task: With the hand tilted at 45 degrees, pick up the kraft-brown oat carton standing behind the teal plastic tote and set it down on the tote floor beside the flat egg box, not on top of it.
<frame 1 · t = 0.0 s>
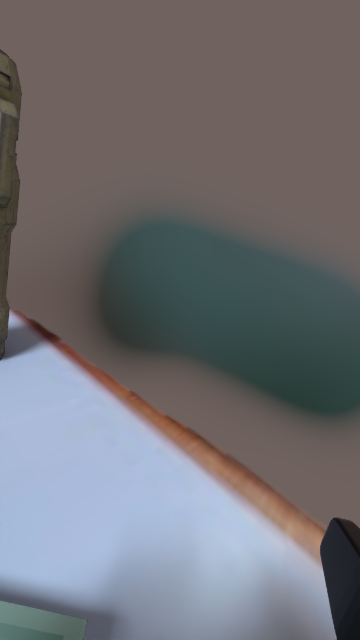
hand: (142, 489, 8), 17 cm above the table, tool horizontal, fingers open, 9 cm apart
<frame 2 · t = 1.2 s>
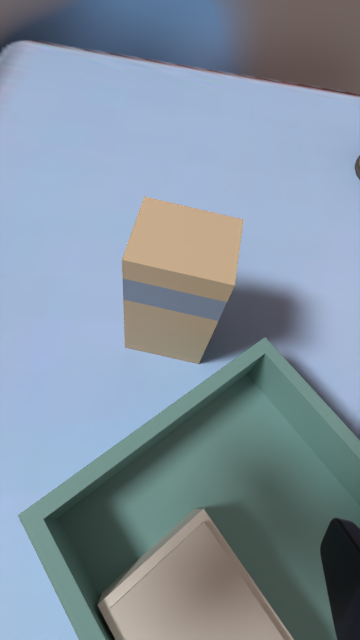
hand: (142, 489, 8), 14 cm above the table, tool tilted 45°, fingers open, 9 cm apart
oat carton: (168, 329, 26), on the table
egg box: (196, 622, 17), point 1 cm above the table, touching tote
tote: (248, 561, 19), on the table
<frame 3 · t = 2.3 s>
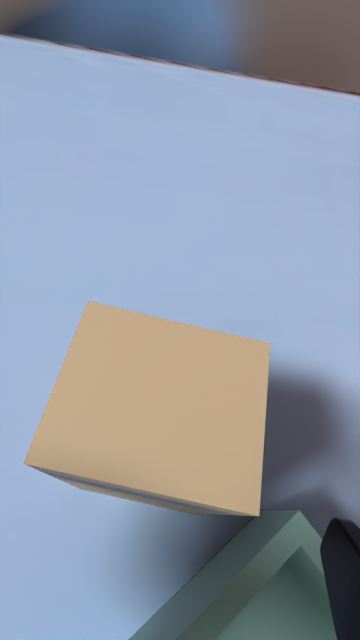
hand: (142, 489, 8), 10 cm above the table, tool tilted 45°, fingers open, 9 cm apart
oat carton: (147, 452, 18), on the table
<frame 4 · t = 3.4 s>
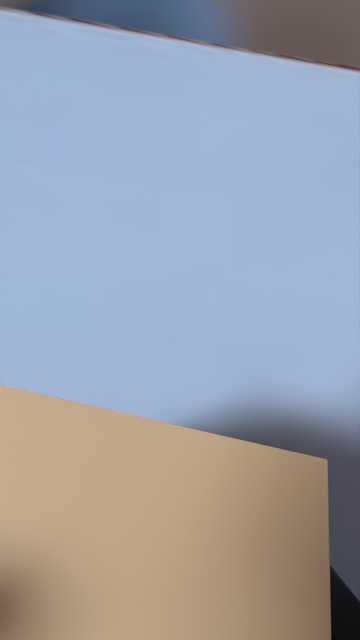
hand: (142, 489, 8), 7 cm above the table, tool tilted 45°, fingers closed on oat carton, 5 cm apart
oat carton: (129, 536, 13), on the table, touching gripper
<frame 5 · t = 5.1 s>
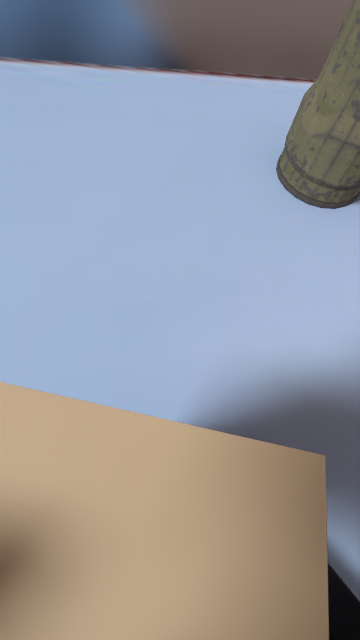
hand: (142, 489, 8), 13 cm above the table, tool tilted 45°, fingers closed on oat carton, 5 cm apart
thermos: (317, 179, 35), on the table
oat carton: (128, 534, 13), point 7 cm above the table, touching gripper
when the fingers open (9 cm above the table, at t = 6.9 s): oat carton drops 1 cm, resting on tote.
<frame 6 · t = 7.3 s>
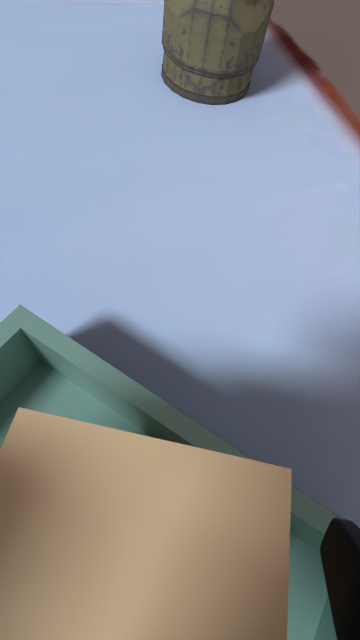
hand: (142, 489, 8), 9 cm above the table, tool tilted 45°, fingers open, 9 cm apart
thermos: (205, 81, 34), on the table
oat carton: (129, 533, 14), point 1 cm above the table, touching tote
tote: (77, 620, 13), on the table
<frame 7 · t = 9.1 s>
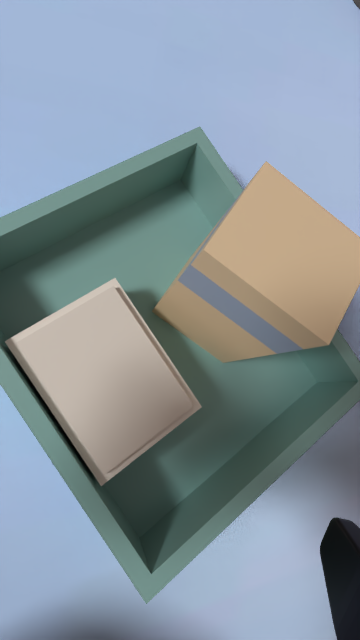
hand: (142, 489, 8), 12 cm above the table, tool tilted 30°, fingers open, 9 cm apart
oat carton: (206, 309, 22), point 1 cm above the table, touching tote
egg box: (105, 377, 20), point 1 cm above the table, touching tote
tote: (159, 340, 22), on the table
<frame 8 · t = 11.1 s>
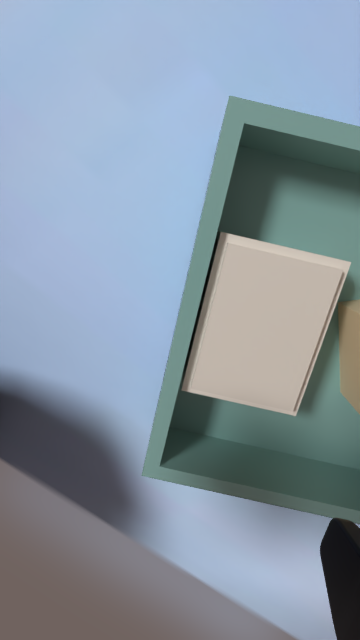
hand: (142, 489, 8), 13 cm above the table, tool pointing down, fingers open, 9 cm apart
egg box: (251, 314, 19), point 1 cm above the table, touching tote
tote: (315, 326, 20), on the table
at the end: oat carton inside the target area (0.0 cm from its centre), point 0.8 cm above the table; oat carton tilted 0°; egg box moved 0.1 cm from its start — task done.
